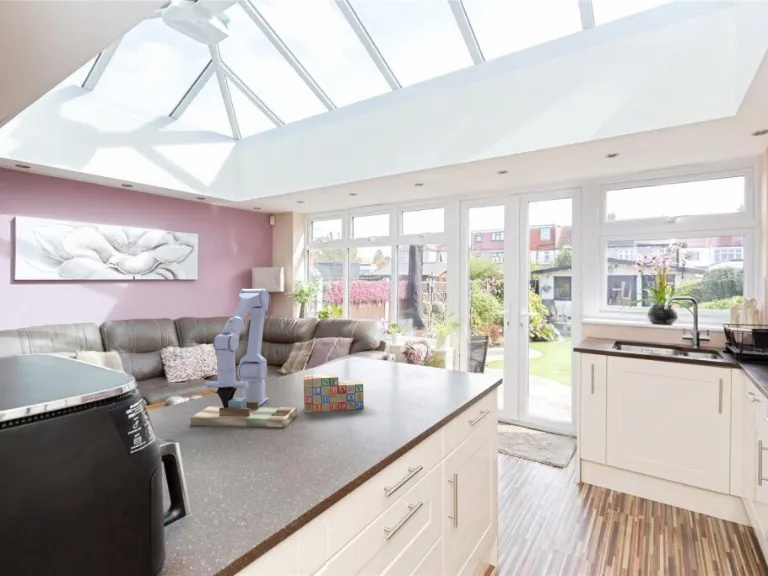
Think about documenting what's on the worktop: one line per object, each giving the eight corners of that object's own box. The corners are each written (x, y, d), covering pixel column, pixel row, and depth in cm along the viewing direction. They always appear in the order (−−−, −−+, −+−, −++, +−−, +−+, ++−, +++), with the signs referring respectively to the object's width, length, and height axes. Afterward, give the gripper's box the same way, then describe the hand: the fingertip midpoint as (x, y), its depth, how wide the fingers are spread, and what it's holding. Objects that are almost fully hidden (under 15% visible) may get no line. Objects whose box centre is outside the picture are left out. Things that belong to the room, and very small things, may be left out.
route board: (209, 413, 147) (209, 399, 147) (296, 414, 144) (296, 400, 144) (190, 424, 135) (190, 409, 135) (285, 427, 132) (285, 411, 132)
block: (234, 410, 142) (234, 397, 142) (246, 410, 141) (246, 397, 141) (228, 414, 137) (228, 401, 137) (241, 414, 137) (240, 401, 137)
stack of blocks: (362, 404, 155) (361, 371, 155) (363, 409, 149) (363, 375, 149) (304, 407, 152) (304, 374, 152) (303, 413, 146) (303, 378, 146)
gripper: (199, 371, 136) (200, 412, 137) (241, 372, 135) (242, 413, 135) (210, 367, 143) (211, 405, 144) (250, 367, 142) (251, 406, 142)
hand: (227, 409), depth 140 cm, fingers closed
